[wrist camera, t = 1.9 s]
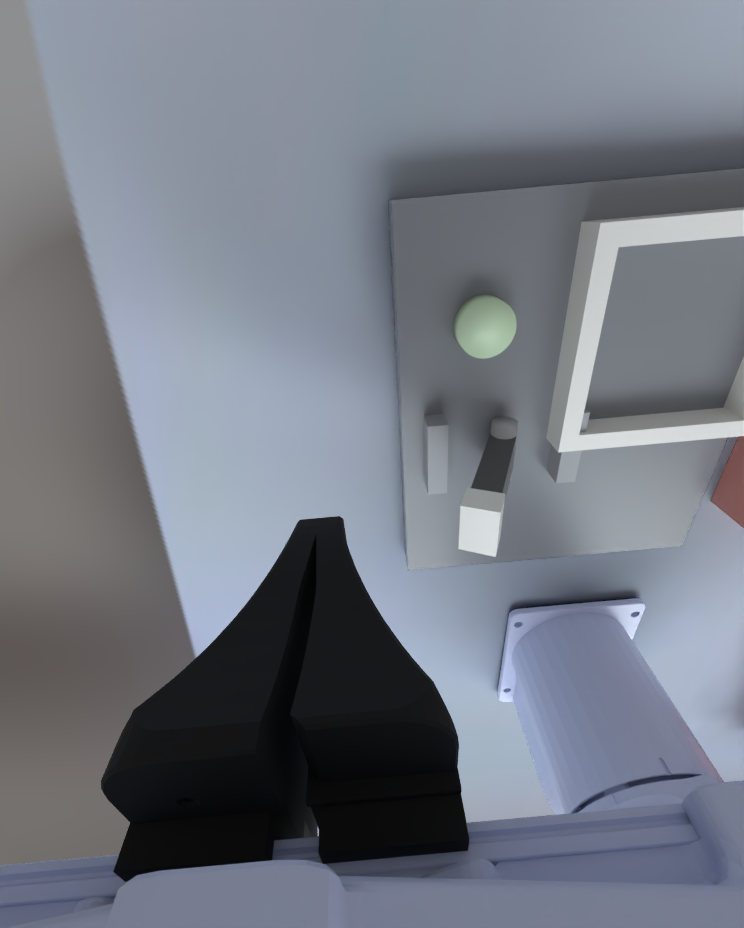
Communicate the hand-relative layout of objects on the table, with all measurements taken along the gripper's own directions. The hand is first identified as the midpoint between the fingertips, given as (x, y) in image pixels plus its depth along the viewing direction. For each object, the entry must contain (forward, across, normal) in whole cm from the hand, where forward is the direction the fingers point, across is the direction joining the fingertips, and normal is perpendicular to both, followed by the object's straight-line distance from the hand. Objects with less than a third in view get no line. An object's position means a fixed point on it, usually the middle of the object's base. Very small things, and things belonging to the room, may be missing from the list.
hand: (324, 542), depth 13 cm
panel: (+6, -10, -1) cm, 12 cm away
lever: (+5, -7, 0) cm, 8 cm away
